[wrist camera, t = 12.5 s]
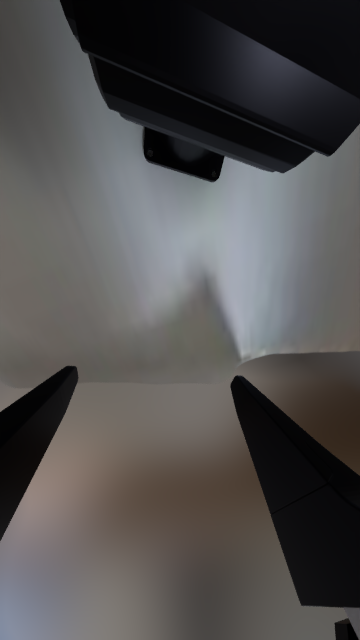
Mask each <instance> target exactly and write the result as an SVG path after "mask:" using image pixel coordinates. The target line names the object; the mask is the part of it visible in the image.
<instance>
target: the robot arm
mask: <svg viewBox="0 0 360 640" xmlns="http://www.w3.org/2000/svg"><path fill="white" fill-rule="evenodd" d="M60 2H61V5H62V8H63V11H64V14H65V17H66V19H67V21H68V23H69V26H70V28H71V30H72V32H73V35H74V36H75V37H76V39H77V40H78V42H79V43H80V46H81V49H82V51H83V52H85V53H87V54H88V55H89V59H90V63H91V66H92V70H93V73H94V77H95V80H96V82H97V85H98V88H99V90H100V93H101V95H102V97H103V99H104V101H105V102H106V104H107V106H108V108H109V109H111V110H114V111H116V112H119V113H120V115H121V117H123V118H124V119H126V120H128V121H131V122H134V123H136V124H139V125H142V126H145V136H144V156H145V159H146V160H147V161H148V162H149V163H152V164H156V165H159V166H162V167H165V168H168V169H171V170H175V171H178V172H181V173H184V174H187V175H191V176H194V177H197V178H200V179H203V180H206V181H210V182H215V181H216V180H217V179H218V178H219V176H220V172H221V168H222V164H223V160H224V156H226V157H229V158H232V159H234V160H237V161H240V162H242V163H245V164H248V165H251V166H253V167H256V168H259V169H261V170H265V171H269V172H275V171H277V172H280V173H285V172H287V171H289V170H290V169H292V168H294V167H296V166H297V165H299V164H300V163H301V162H303V161H304V160H305V159H306V158H308V157H309V156H310V155H311V154H313V153H314V152H315V151H316V152H318V153H320V154H323V155H325V156H327V157H328V156H331V155H332V154H333V153H334V152H335V151H336V150H337V149H338V148H339V147H340V146H341V145H342V143H343V142H344V141H345V140H346V139H347V138H348V137H349V135H350V134H351V133H352V132H353V131H354V130H355V128H356V127H357V126H358V125H359V124H360V0H60ZM148 150H151V151H152V152H153V156H152V157H149V156H148V155H147V152H148ZM212 171H215V173H216V176H215V177H212ZM77 382H78V372H77V367H76V366H66V367H64V368H63V369H61V370H60V371H59V372H57V373H56V374H54V375H53V376H51V377H50V378H49V379H47V380H46V381H44V382H43V383H41V384H40V385H38V386H37V387H36V388H34V389H33V390H31V391H30V392H28V393H27V394H26V395H24V396H23V397H21V398H20V399H18V400H17V401H15V402H14V403H13V404H11V405H10V406H8V407H7V408H5V409H4V410H2V411H1V412H0V541H1V539H2V537H3V535H4V533H5V531H6V529H7V527H8V525H9V523H10V521H11V519H12V517H13V515H14V513H15V511H16V509H17V507H18V505H19V503H20V501H21V499H22V497H23V495H24V493H25V492H26V490H27V488H28V486H29V484H30V482H31V480H32V478H33V476H34V474H35V472H36V470H37V468H38V466H39V464H40V462H41V460H42V458H43V456H44V454H45V452H46V450H47V448H48V446H49V444H50V442H51V440H52V438H53V436H54V434H55V432H56V431H57V428H58V426H59V425H60V423H61V421H62V419H63V417H64V415H65V413H66V410H67V408H68V405H69V402H70V400H71V397H72V395H73V392H74V389H75V387H76V384H77ZM231 391H232V396H233V399H234V404H235V408H236V412H237V416H238V419H239V421H240V425H241V428H242V430H243V434H244V437H245V440H246V443H247V445H248V448H249V452H250V455H251V458H252V461H253V463H254V466H255V469H256V472H257V475H258V478H259V481H260V484H261V487H262V490H263V493H264V496H265V499H266V502H267V505H268V508H269V511H270V514H271V517H272V520H273V524H274V527H275V529H276V532H277V535H278V538H279V541H280V544H281V548H282V550H283V553H284V556H285V559H286V562H287V565H288V568H289V571H290V574H291V577H292V580H293V583H294V586H295V589H296V592H297V595H298V598H299V601H300V603H301V605H302V606H316V607H343V608H344V610H345V612H346V614H347V616H348V618H347V619H345V620H342V621H338V622H336V623H335V634H336V640H360V476H359V475H358V474H357V473H355V472H354V471H353V470H352V469H350V468H349V467H348V466H347V465H345V464H344V463H343V462H342V461H340V460H339V459H338V458H337V457H335V456H334V455H333V454H331V453H330V452H329V451H328V450H327V449H325V448H324V447H323V446H322V445H321V444H319V443H318V442H317V441H316V440H315V439H313V438H312V437H311V436H310V435H309V434H308V433H307V432H306V431H304V430H303V429H302V428H301V427H300V426H299V425H298V424H296V423H295V422H294V421H293V420H292V419H291V418H290V417H288V416H287V415H286V414H285V413H284V412H283V411H282V410H281V409H279V408H278V407H277V406H276V405H275V404H274V403H273V402H271V401H270V400H269V399H268V398H267V397H266V396H265V395H264V394H262V393H261V392H260V391H259V390H258V389H257V388H256V387H254V386H253V385H252V384H251V383H250V382H249V381H248V380H246V379H245V378H244V377H243V376H238V375H237V376H235V377H234V379H233V381H232V383H231Z"/></svg>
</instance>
